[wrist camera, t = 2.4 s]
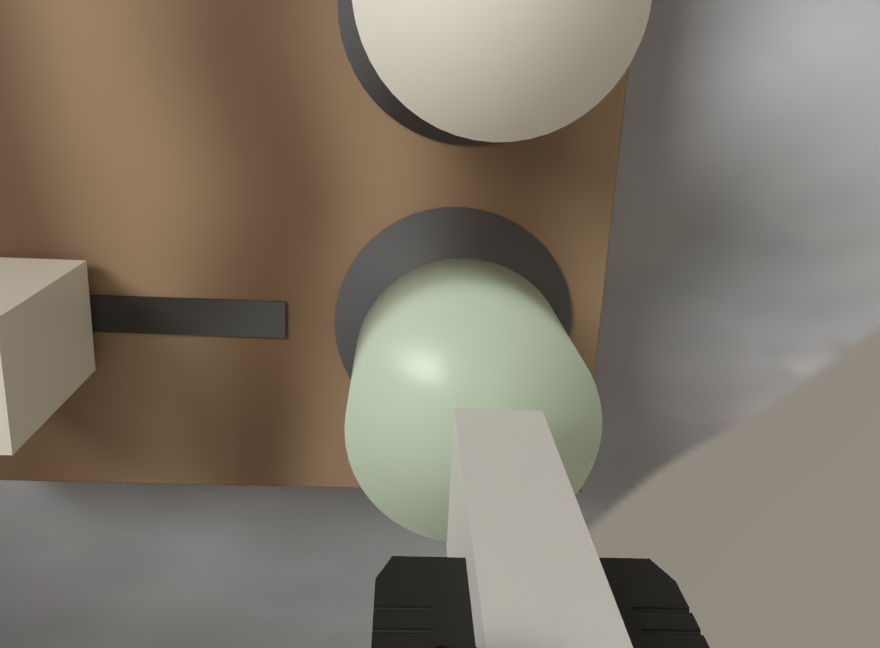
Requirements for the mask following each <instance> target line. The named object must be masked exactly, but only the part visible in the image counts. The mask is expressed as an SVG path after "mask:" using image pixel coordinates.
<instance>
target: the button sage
mask: <svg viewBox="0 0 880 648" xmlns="http://www.w3.org/2000/svg"><path fill="white" fill-rule="evenodd" d="M454 408H467V409H501V410H535V411H543V414H544V416H545V419H546V421H547V424H548V427H549V429H550V432H551V434H552V437H553V440H554V442H555V445H556V447H557V450H558V453H559V455H560V458H561V460H562V463H563V466H564V468H565V471H566V474H567V476H568V479H569V481H570V484H571V487H572V489H573V492H574V494H575V495H576V494H577V493H578V492H579V490H580V489H581V487H582V486H583V484H584V483H585V481H586V480H587V478H588V476H589V474H590V472H591V470H592V468H593V466H594V463H595V460H596V457H597V454H598V452H599V447H600V442H601V437H602V420H603V419H602V409H601V402H600V398H599V394H598V390H597V387H596V385H595V382H594V380H593V377H592V375H591V373H590V371H589V370H588V368H587V366H586V364H585V363H584V361H583V359H582V358H581V356H580V354H579V353H578V351H577V349H576V348H575V346H574V344H573V343H572V341H571V339H570V338H569V336H568V334H567V333H566V331H565V329H564V328H563V326H562V324H561V323H560V321H559V319H558V318H557V316H556V314H555V313H554V311H553V309H552V308H551V306H550V304H549V303H548V301H547V300H546V299H545V297H544V296H543V295H542V294H541V292H540V291H539V290H538V289H537V288H536V287H535V286H534V285H533V284H532V283H531V282H529V281H528V280H526V279H525V278H524V277H522V276H521V275H520V274H518V273H516V272H514V271H512V270H510V269H509V268H507V267H504V266H501V265H499V264H496V263H493V262H489V261H484V260H480V259H470V258H452V259H446V260H439V261H435V262H432V263H428V264H425V265H422V266H420V267H418V268H416V269H413V270H411V271H409V272H408V273H406V274H404V275H403V276H401V277H399V278H398V279H397V280H396V281H394V282H393V283H392V284H391V285H389V286H388V287H387V288H386V289H385V290H384V291H383V292H382V293H381V294H380V295H379V296H378V298H377V299H376V301H375V302H374V303H373V305H372V306H371V307H370V309H369V311H368V313H367V315H366V316H365V318H364V321H363V323H362V326H361V328H360V331H359V335H358V340H357V344H356V350H355V357H354V363H353V370H352V376H351V382H350V389H349V395H348V402H347V408H346V416H345V427H344V430H345V445H346V450H347V455H348V460H349V462H350V465H351V468H352V471H353V473H354V475H355V477H356V479H357V481H358V483H359V485H360V487H361V488H362V490H363V491H364V492H365V494H366V495H367V497H368V498H369V499H370V501H371V502H372V503H373V504H374V505H375V506H376V507H377V508H378V509H379V510H380V511H381V512H382V513H384V514H385V515H386V516H387V517H388V518H390V519H391V520H392V521H394V522H395V523H397V524H399V525H400V526H402V527H403V528H405V529H407V530H409V531H411V532H414V533H416V534H418V535H420V536H423V537H426V538H430V539H433V540H436V541H441V542H447V530H448V513H449V495H450V478H451V460H452V443H453V425H454Z"/></svg>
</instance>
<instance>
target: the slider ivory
mask: <svg viewBox="0 0 880 648" xmlns="http://www.w3.org/2000/svg"><path fill="white" fill-rule="evenodd" d="M95 370H96V369H95V357H94V345H93V333H92V321H91V308H90V296H89V284H88V272H87V260H63V259H35V258H7V257H0V455H13V454H14V453H15V452H16V451H17V450H18V449H19V448H20V447H21V446H22V445H23V444H24V443H25V442H26V441H27V440H28V439H29V438H30V437H31V436H32V435H33V434H34V433H35V432H36V431H37V430H38V429H39V428H40V427H41V426H42V425H43V424H44V423H45V422H46V420H47V419H48V418H49V417H50V416H51V415H52V414H53V413H54V412H55V411H56V410H57V409H58V408H59V407H60V406H61V405H62V404H63V403H64V402H65V401H66V400H67V399H68V398H69V397H70V396H71V395H72V394H73V393H74V392H75V391H76V390H77V389H78V388H79V387H80V386H81V385H82V384H83V383H84V381H85V380H86V379H87V378H88V377H89V376H90V375H91V374H92V373H93V372H94V371H95Z"/></svg>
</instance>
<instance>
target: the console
mask: <svg viewBox="0 0 880 648" xmlns="http://www.w3.org/2000/svg"><path fill="white" fill-rule="evenodd" d="M627 73H628V68H627V70H626V72H625V73H624V75H623V76H622V77H621V78H620V80H619V81H618V82H617V84H616V85H615V86H614V88H613V89H612V90H611V91H610V92H609V93H608V94H607V95H606V96H605V97H604V98H603V99H602V100H601V101H600V102H599V103H598V104H597V105H596V106H595V107H593V108H592V109H591V110H590V111H588V112H587V113H586V114H584V115H583V116H582V117H580V118H578V119H577V120H575V121H573V122H572V123H570V124H569V125H567V126H565V127H563V128H560V129H558V130H556V131H554V132H551V133H549V134H546V135H542V136H539V137H536V138H532V139H527V140H521V141H515V142H486V141H477V140H472V139H468V138H464V137H460V136H456V135H453V134H451V133H448V132H446V131H443V130H441V129H438V128H437V127H435V126H433V125H431V124H430V123H428V122H426V121H424V120H423V119H421V118H420V117H418V116H417V115H416V114H414V113H413V112H412V111H410V110H409V109H408V108H406V107H405V106H404V105H403V104H402V103H401V102H400V101H399V100H398V99H397V98H396V97H395V96H394V95H393V94H392V93H391V91H390V90H389V89H388V87H387V86H386V85H385V84H384V82H383V81H382V80H381V79H380V77H379V75H378V74H377V72H376V70H375V69H374V67H373V65H372V64H371V62H370V60H369V58H368V56H367V53H366V51H365V49H364V47H363V44H362V42H361V39H360V36H359V32H358V29H357V26H356V22H355V17H354V11H353V5H352V0H0V257H7V258H35V259H63V260H87V272H88V284H89V296H90V308H91V321H92V333H93V345H94V357H95V369H96V370H95V371H94V372H93V373H92V374H91V375H90V376H89V377H88V378H87V379H86V380H85V381H84V383H83V384H82V385H81V386H80V387H79V388H78V389H77V390H76V391H75V392H74V393H73V394H72V395H71V396H70V397H69V398H68V399H67V400H66V401H65V402H64V403H63V404H62V405H61V406H60V407H59V408H58V409H57V410H56V411H55V412H54V413H53V414H52V415H51V416H50V417H49V418H48V419H47V420H46V422H45V423H44V424H43V425H42V426H41V427H40V428H39V429H38V430H37V431H36V432H35V433H34V434H33V435H32V436H31V437H30V438H29V439H28V440H27V441H26V442H25V443H24V444H23V445H22V446H21V447H20V448H19V449H18V450H17V451H16V452H15V453H14V454H13V455H0V480H29V481H78V482H126V483H174V484H222V485H271V486H319V487H360V485H359V483H358V481H357V479H356V477H355V475H354V473H353V471H352V468H351V465H350V462H349V460H348V455H347V450H346V445H345V430H344V427H345V416H346V408H347V402H348V395H349V389H350V382H351V376H352V370H353V363H354V357H355V350H356V344H357V340H358V335H359V331H360V328H361V326H362V323H363V321H364V318H365V316H366V315H367V313H368V311H369V309H370V307H371V306H372V305H373V303H374V302H375V301H376V299H377V298H378V296H379V295H380V294H381V293H382V292H383V291H384V290H385V289H386V288H387V287H388V286H389V285H391V284H392V283H393V282H394V281H396V280H397V279H398V278H399V277H401V276H403V275H404V274H406V273H408V272H409V271H411V270H413V269H416V268H418V267H420V266H422V265H425V264H428V263H432V262H435V261H439V260H446V259H452V258H470V259H480V260H484V261H489V262H493V263H496V264H499V265H501V266H504V267H507V268H509V269H510V270H512V271H514V272H516V273H518V274H520V275H521V276H522V277H524V278H525V279H526V280H528V281H529V282H531V283H532V284H533V285H534V286H535V287H536V288H537V289H538V290H539V291H540V292H541V294H542V295H543V296H544V297H545V299H546V300H547V301H548V303H549V304H550V306H551V308H552V309H553V311H554V313H555V314H556V316H557V318H558V319H559V321H560V323H561V324H562V326H563V328H564V329H565V331H566V333H567V334H568V336H569V338H570V339H571V341H572V343H573V344H574V346H575V348H576V349H577V351H578V353H579V354H580V356H581V358H582V359H583V361H584V363H585V364H586V366H587V368H588V370H589V371H590V373H591V375H592V377H593V380H594V371H595V362H596V353H597V344H598V335H599V326H600V317H601V308H602V299H603V290H604V281H605V272H606V263H607V254H608V245H609V235H610V226H611V217H612V208H613V199H614V190H615V181H616V172H617V163H618V154H619V145H620V136H621V127H622V118H623V109H624V100H625V91H626V82H627ZM581 488H582V487H581ZM579 492H581V489H580V490H579Z"/></svg>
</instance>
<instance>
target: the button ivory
mask: <svg viewBox="0 0 880 648" xmlns="http://www.w3.org/2000/svg"><path fill="white" fill-rule="evenodd" d="M651 4H652V0H352V5H353V11H354V17H355V22H356V26H357V29H358V32H359V36H360V39H361V42H362V44H363V47H364V49H365V51H366V53H367V56H368V58H369V60H370V62H371V64H372V65H373V67H374V69H375V70H376V72H377V74H378V75H379V77H380V79H381V80H382V81H383V82H384V84H385V85H386V86H387V87H388V89H389V90H390V91H391V93H392V94H393V95H394V96H395V97H396V98H397V99H398V100H399V101H400V102H401V103H402V104H403V105H404V106H405V107H406V108H408V109H409V110H410V111H412V112H413V113H414V114H416V115H417V116H418V117H420V118H421V119H423V120H424V121H426V122H428V123H430V124H431V125H433V126H435V127H437V128H438V129H441V130H443V131H446V132H448V133H451V134H453V135H456V136H460V137H464V138H468V139H472V140H477V141H486V142H515V141H521V140H527V139H532V138H536V137H539V136H542V135H546V134H549V133H551V132H554V131H556V130H558V129H560V128H563V127H565V126H567V125H569V124H570V123H572V122H573V121H575V120H577V119H578V118H580V117H582V116H583V115H584V114H586V113H587V112H588V111H590V110H591V109H592V108H593V107H595V106H596V105H597V104H598V103H599V102H600V101H601V100H602V99H603V98H604V97H605V96H606V95H607V94H608V93H609V92H610V91H611V90H612V89H613V88H614V86H615V85H616V84H617V82H618V81H619V80H620V78H621V77H622V76H623V75H624V73H625V72H626V70H627V68H628V66H629V65H630V63H631V61H632V60H633V58H634V56H635V54H636V52H637V50H638V47H639V45H640V43H641V41H642V38H643V36H644V32H645V29H646V26H647V22H648V19H649V15H650V10H651Z"/></svg>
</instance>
